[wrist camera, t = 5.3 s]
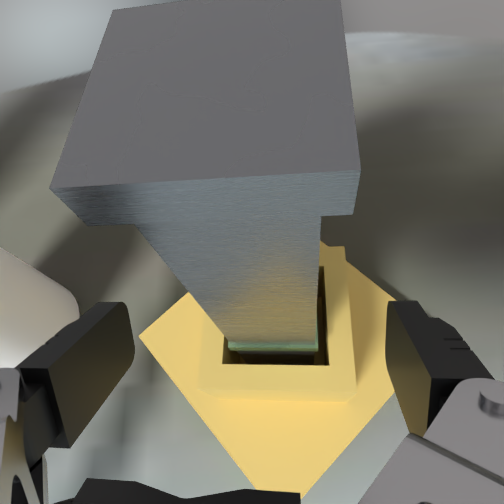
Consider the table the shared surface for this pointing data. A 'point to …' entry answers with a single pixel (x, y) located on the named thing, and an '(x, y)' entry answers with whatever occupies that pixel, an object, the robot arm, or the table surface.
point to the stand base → (285, 380)
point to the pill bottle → (29, 309)
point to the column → (223, 155)
